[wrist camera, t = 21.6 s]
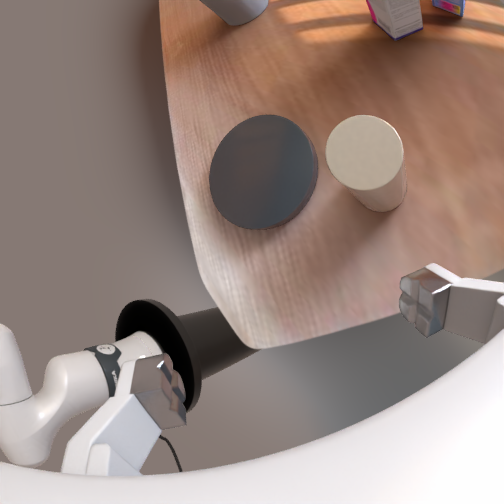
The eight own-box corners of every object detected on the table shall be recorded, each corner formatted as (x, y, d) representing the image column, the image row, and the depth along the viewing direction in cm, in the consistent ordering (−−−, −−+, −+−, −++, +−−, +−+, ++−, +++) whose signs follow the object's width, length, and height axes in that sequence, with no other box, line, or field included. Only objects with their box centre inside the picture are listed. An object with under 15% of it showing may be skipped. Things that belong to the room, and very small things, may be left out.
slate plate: (306, 240, 35) (301, 239, 34) (208, 220, 43) (200, 219, 42) (325, 119, 34) (321, 113, 32) (227, 121, 42) (220, 117, 40)
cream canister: (403, 216, 29) (399, 196, 19) (351, 207, 32) (319, 184, 22) (409, 162, 28) (405, 118, 18) (358, 156, 32) (329, 112, 21)
